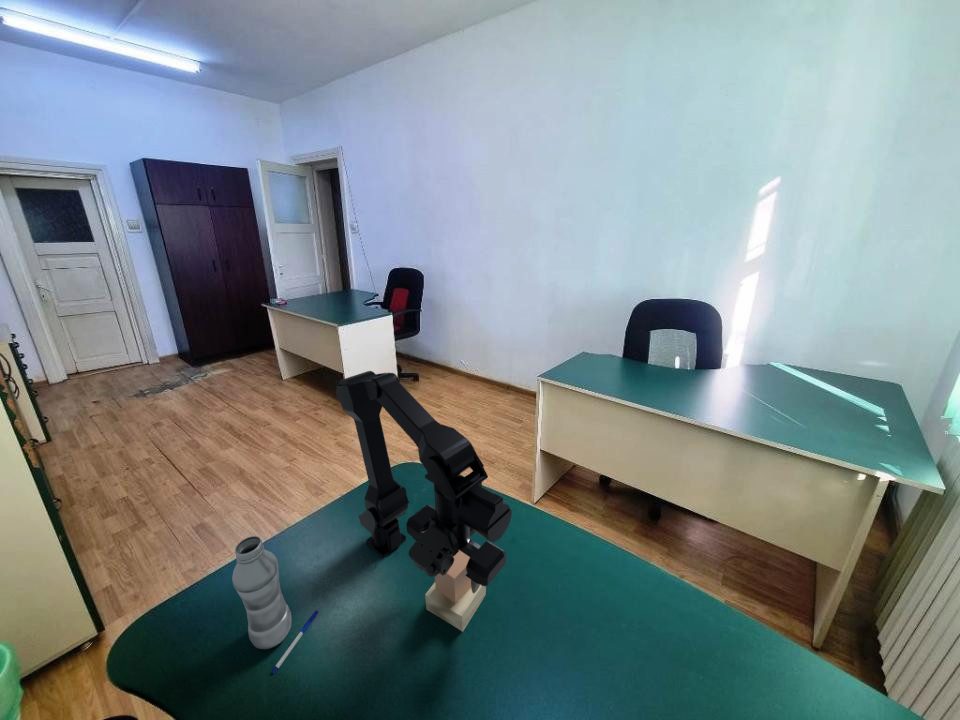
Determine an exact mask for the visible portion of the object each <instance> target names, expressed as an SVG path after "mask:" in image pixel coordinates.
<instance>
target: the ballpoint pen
mask: <svg viewBox="0 0 960 720" xmlns="http://www.w3.org/2000/svg"><path fill="white" fill-rule="evenodd" d="M318 614H319V611H318V610H317V609H316V610H315V611H313V613H312V614H311V616H310V617H309V618H308V619H307V620H306V622H305V623H304V624H303V627H302V628H301V630H300V631H299V633H298V634H297V635H296V637H295V638H294V640H293V641H292V642H291V643H290V646H289V647H288V648H287V649H286V651H285V652H284V654H283V655H282V656H281V657H280V659H279V660H278V662H277V663H276V664H275V666H274V668H272V671H271V674H272V675H274V674H275V673H276V672H277V671H278V669H280V667H281V665H283V663H284V661H285V660H286V659H287V657H288V656H289V655H290V653H291V651H293V648H294V647H295V646H296V645H297V643H298V642H299V640H300V639H301V638H302V636H303V635H304V634H305V633H306V631H307V629H308V628H309V627H310V625H311V624H312V623H313V621H314V620H315V618H316V617H317V616H318Z"/></svg>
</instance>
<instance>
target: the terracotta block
mask: <svg viewBox="0 0 960 720" xmlns="http://www.w3.org/2000/svg"><path fill="white" fill-rule="evenodd" d="M453 557H454V563H453V565H452V566H451V567H450V569H449V570H448V572H447V573H446V574H445V575H441V574H438V575H437V576H434V583H435V587H436V589H438V590H439V591H440V592H441V593H442V594H444V595H445V596H446V597H447V598H449V599H450V600H451V601H452V602H453V603H455V604H456V603H457V602H458V601H459V600H460V599H461V598H462V597H463V596H464V594H465V593H466V592H467V591H468V590H469V589H470V588H471V579H469V578H468V577H467V576H466V574H467V571H466V565H467V563H468V561H469V558H470V557H469V556H467V555H466V554H464V553H463V552H461V551H460V550H459V552H458V553H457V554H456V555H455V556H453Z"/></svg>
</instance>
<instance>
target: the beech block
mask: <svg viewBox="0 0 960 720" xmlns="http://www.w3.org/2000/svg"><path fill="white" fill-rule="evenodd" d="M486 593H487V586H482V585H480V586H479V588H478V590H477V591H476V592H475V593H472V589H471V588H470V589H469V590H468V591H467V592H466V593H465V594H464V596H463V597H462V598H461V599H460V600H459V601H458V602H457V603H456V604H455V603H453V602H452V601H451V600H450V599H449V598H447V597H446V596H445V595H444V594H442V593H441V592H440V591H439V590H438V589H436V587H435V582H433V584H432V585H431V587H430V588H429V589H428V591H426V593H425V595H424V597H425V606H426V611H429V612H430V613H432V614H433V615H435V616H436V617H438V618H440V619H441V620H443V621H444V622H446V623H448V624H449V625H452V626H453V627H454V628H455V629H458V630H459V631H461V632H462V633H463V632H464V630H465V628H466V627H467V626H468V624H469V622H470V621H471V619H472V618H473V616H474V614H475V613H476V611H477V610H478V608H479V606H480V605H481V603H482V602H483V600H484V598H485V597H486V595H487V594H486Z"/></svg>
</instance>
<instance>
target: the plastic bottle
mask: <svg viewBox="0 0 960 720" xmlns="http://www.w3.org/2000/svg"><path fill="white" fill-rule="evenodd" d="M234 554H235V558H236V562H237V563H236V564H235V567H234V569H233V571H232V578H231V579H232V580H231V581H232V584H233V588H234V589H235V590H236V592H237V594H238V596H239V597H240V599H241V601H242V603H243V606H244V608H245V611H246V617H247V622H248V623H247V625H248V626H247V629H248V630H247V632H248V638H249V640H250V643H252V645H253V646H254V647H255V648H256V649H260V650H270V649H272V648H274V647H276V646H278V645H279V644H280V643H282V642H283V641H284V640H285V638H286V636H287V635H288V633H290V630H291V628H292V612H291V610H290V607H289V605H288V604H287V602H286V600H285V598H284V596H283V594H282V593H283V592H282V590H281V583H280V576H279V575H280V574H279V563H278V558H277V557H276V556H275V554H274V553H273V552H271V551H270V550H267V549H265V545H264V543H263V540H262V538H261V537H260V536H257V535H252V536H248V537H245V538H244V539H241V540H240V541H239V542H238V543H237V544H236V546H235V549H234Z"/></svg>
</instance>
